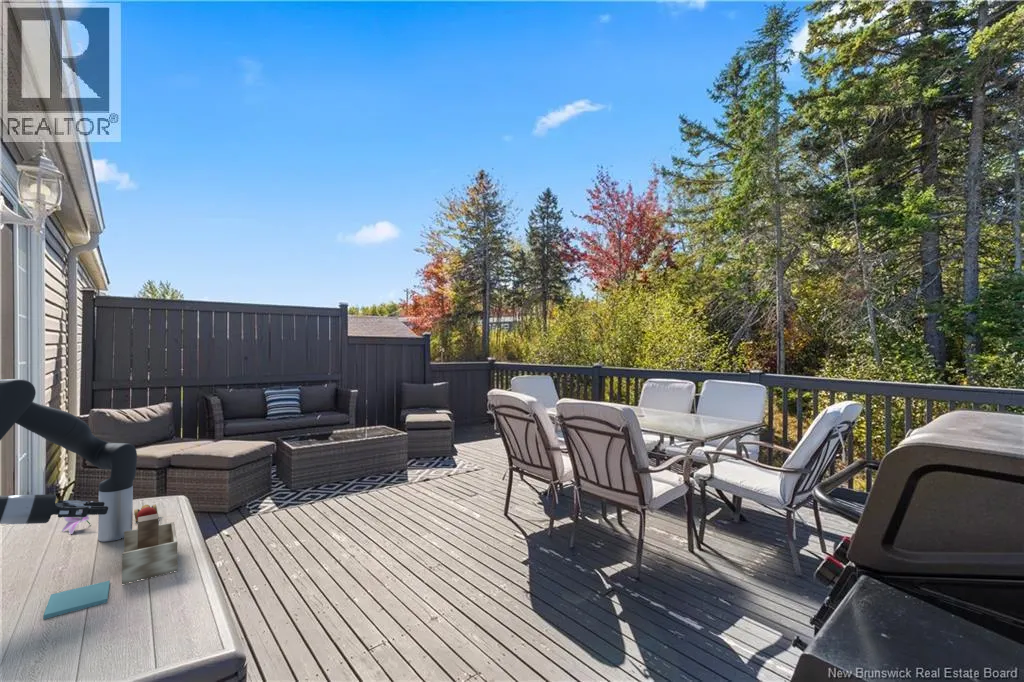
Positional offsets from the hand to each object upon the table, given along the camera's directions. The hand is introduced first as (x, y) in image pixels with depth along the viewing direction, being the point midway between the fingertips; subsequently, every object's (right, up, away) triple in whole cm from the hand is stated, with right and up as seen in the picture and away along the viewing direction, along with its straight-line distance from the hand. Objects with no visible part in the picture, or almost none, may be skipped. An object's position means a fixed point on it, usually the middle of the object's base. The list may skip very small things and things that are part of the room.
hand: (105, 508), depth 136 cm
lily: (-40, -20, +33) cm, 56 cm away
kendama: (-24, -21, +44) cm, 54 cm away
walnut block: (+8, -17, +6) cm, 20 cm away
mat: (+4, -20, -13) cm, 24 cm away
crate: (+8, -20, +6) cm, 23 cm away
